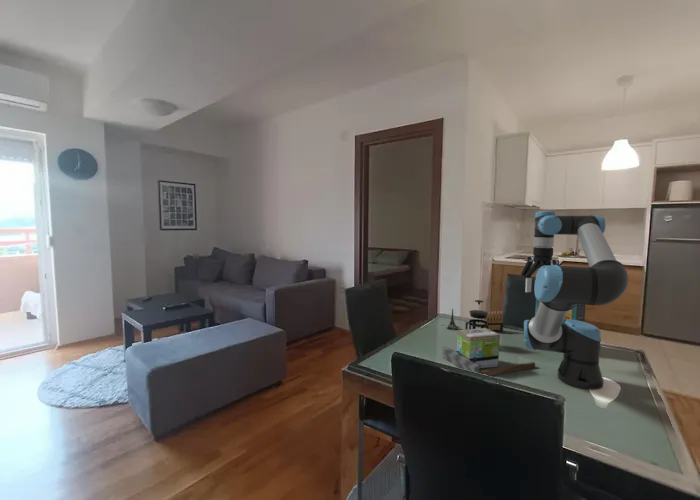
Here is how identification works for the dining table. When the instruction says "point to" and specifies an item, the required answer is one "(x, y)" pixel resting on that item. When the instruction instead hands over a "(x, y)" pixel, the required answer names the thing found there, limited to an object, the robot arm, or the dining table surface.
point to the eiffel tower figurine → (452, 324)
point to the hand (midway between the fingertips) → (540, 295)
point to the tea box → (479, 346)
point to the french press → (478, 315)
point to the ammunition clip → (495, 322)
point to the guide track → (469, 365)
